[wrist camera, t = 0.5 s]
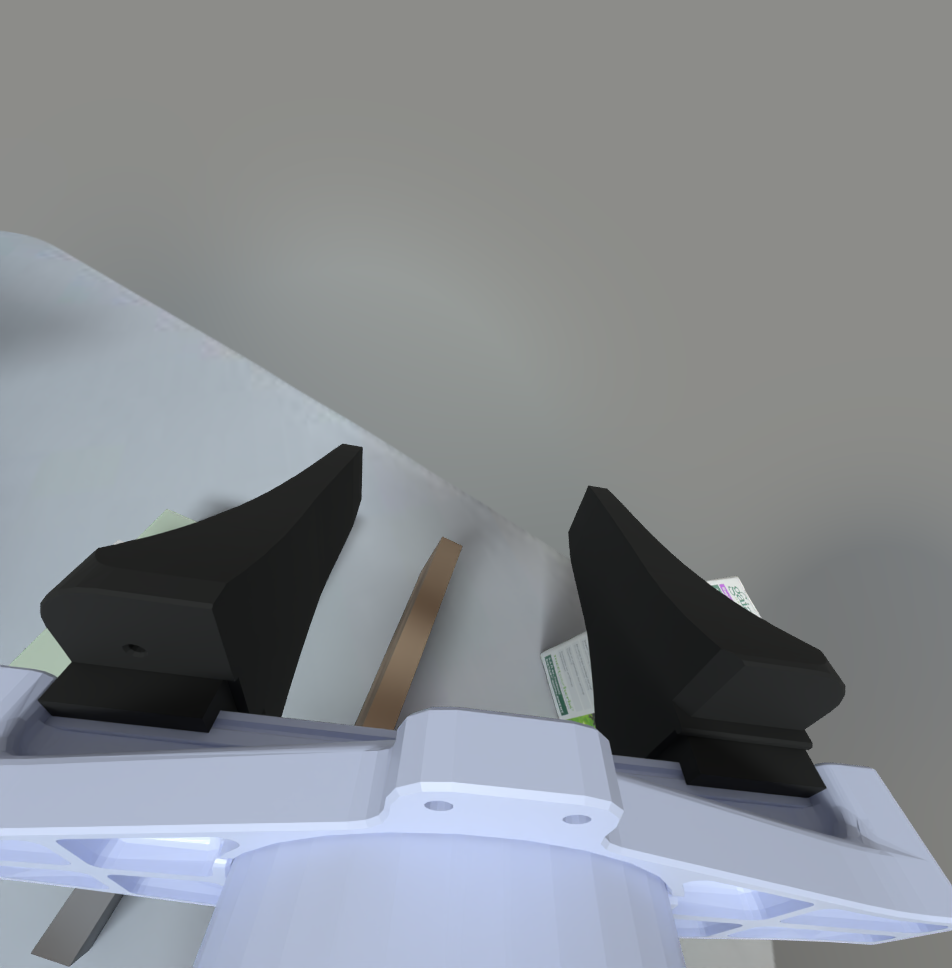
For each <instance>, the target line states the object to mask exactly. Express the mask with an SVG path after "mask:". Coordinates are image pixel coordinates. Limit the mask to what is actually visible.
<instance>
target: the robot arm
mask: <svg viewBox="0 0 952 968" xmlns="http://www.w3.org/2000/svg"><path fill="white" fill-rule="evenodd" d="M362 454H363V447H359V446H353V445H347V444H342V445H340V446H339V447H337V448H336V449H334V450H333V451H331V452H330V453H328V454H327V455H326V456H324V457H323V458H321V459H320V460H318V461H317V462H316V463H314V464H313V465H311V466H310V467H308V468H307V469H305V470H304V471H302V472H301V473H299V474H298V475H296V476H295V477H293V478H291V479H289V480H288V481H286V482H284V483H283V484H281V485H279V486H278V487H276V488H274V489H273V490H271V491H269V492H267V493H265V494H263V495H261V496H259V497H257V498H255V499H253V500H251V501H249V502H246V503H244V504H242V505H240V506H238V507H235V508H233V509H230V510H227V511H225V512H222V513H220V514H217V515H215V516H212V517H209V518H207V519H204V520H201V521H199V522H196V523H192V524H189V525H186V526H183V527H180V528H177V529H173V530H170V531H167V532H163V533H160V534H156V535H152V536H149V537H144V538H140V539H136V540H132V541H127V542H123V543H119V544H115V545H111V546H106V547H101V548H98V549H97V550H96V551H94V552H93V553H92V554H91V555H90V556H89V557H88V558H87V559H85V560H84V561H83V562H82V563H81V564H80V565H79V566H78V567H77V568H76V569H74V570H73V571H72V572H71V573H70V574H69V575H68V576H67V577H66V578H65V579H64V580H62V581H61V582H60V583H59V584H58V585H57V586H56V587H55V588H54V589H53V590H51V591H50V592H49V593H48V594H47V595H46V596H45V598H44V599H43V600H42V602H41V603H40V613H41V618H42V620H43V622H44V623H45V625H46V627H47V629H48V630H49V632H50V633H51V634H52V636H53V637H54V638H55V640H56V641H57V643H58V644H59V645H60V647H61V648H62V649H63V651H64V652H65V653H66V655H67V656H68V658H69V659H70V660H71V663H70V664H69V665H68V666H67V668H66V669H65V670H64V671H63V672H62V673H61V674H60V675H59V677H58V678H57V677H56V676H55V675H53V674H50V673H48V672H46V671H42V670H37V669H30V668H22V667H13V666H5V665H0V879H4V880H14V881H23V882H31V883H39V884H47V885H55V886H64V887H71V888H79V889H87V890H94V891H102V892H109V893H117V894H124V895H132V896H139V897H147V898H154V899H162V900H169V901H177V902H185V903H192V904H200V905H207V906H215V910H214V912H213V915H212V917H211V920H210V923H209V925H208V928H207V931H206V933H205V936H204V938H203V941H202V944H201V946H200V949H199V951H198V954H197V957H196V959H195V962H194V964H193V967H192V968H686V965H685V961H684V957H683V953H682V949H681V945H680V941H679V938H702V939H762V940H799V941H822V942H840V943H855V944H869V945H873V944H879V943H885V942H890V941H896V940H901V939H907V938H912V937H918V936H923V935H929V934H934V933H940V932H945V931H950V930H952V885H951V883H950V882H949V881H948V879H947V877H946V876H945V875H944V873H943V871H942V870H941V868H940V867H939V865H938V864H937V862H936V861H935V859H934V858H933V856H932V855H931V853H930V852H929V850H928V849H927V847H926V846H925V844H924V843H923V842H922V840H921V838H920V837H919V835H918V834H917V832H916V831H915V829H914V828H913V826H912V825H911V823H910V822H909V820H908V819H907V817H906V816H905V814H904V813H903V811H902V810H901V808H900V807H899V805H898V803H897V802H896V800H895V799H894V798H893V796H892V794H891V793H890V791H889V790H888V788H887V787H886V785H885V784H884V782H883V781H882V780H881V778H880V776H879V775H878V773H877V772H876V771H875V769H872V768H870V767H866V766H858V765H849V764H841V763H819V764H815V765H813V763H812V761H811V759H810V758H809V756H808V754H807V752H806V750H809V749H811V748H812V742H811V740H810V738H809V736H808V735H807V733H806V731H805V730H804V729H806V728H807V727H809V726H810V725H812V724H813V723H815V722H816V721H818V720H819V719H820V718H822V717H823V716H825V715H826V714H828V713H829V712H831V711H832V710H833V709H834V708H836V707H837V706H838V705H839V704H840V702H841V701H842V699H843V697H844V695H845V684H844V683H843V682H842V680H841V679H840V677H839V676H838V674H837V673H836V672H835V670H834V669H833V667H832V666H831V664H830V663H829V661H828V660H827V658H826V657H825V656H824V654H823V653H822V652H821V651H820V650H819V649H817V648H815V647H813V646H811V645H809V644H807V643H805V642H803V641H801V640H800V639H798V638H796V637H794V636H792V635H790V634H788V633H786V632H784V631H783V630H781V629H779V628H777V627H775V626H773V625H771V624H770V623H768V622H767V621H765V620H763V619H762V618H760V617H758V616H757V615H755V614H753V613H752V612H750V611H748V610H747V609H745V608H744V607H742V606H741V605H739V604H737V603H736V602H734V601H733V600H731V599H730V598H728V597H727V596H726V595H724V594H723V593H721V592H720V591H718V590H717V589H715V588H714V587H713V586H711V585H710V584H709V583H707V582H706V581H704V580H703V579H702V578H701V577H699V576H698V575H697V574H696V573H694V572H693V571H692V570H691V569H689V568H688V567H687V566H685V565H684V564H683V563H682V562H681V561H680V560H678V559H677V558H676V557H675V556H674V555H673V554H671V553H670V552H669V551H668V550H667V549H666V548H665V547H664V546H663V545H662V544H661V543H660V542H659V541H658V540H657V539H656V538H655V537H653V536H652V535H651V534H650V533H649V531H648V530H647V529H645V527H644V526H643V525H642V524H641V523H640V522H639V521H638V520H637V519H636V518H635V517H634V516H633V515H632V514H631V513H630V512H629V511H628V510H627V508H626V507H624V505H623V504H622V503H621V502H620V501H619V500H618V499H617V498H616V497H615V496H614V495H613V494H612V493H611V492H610V491H609V490H608V489H605V488H600V487H593V486H588V488H587V491H586V493H585V495H584V498H583V500H582V502H581V504H580V507H579V509H578V511H577V513H576V516H575V518H574V521H573V523H572V525H571V528H570V530H569V532H568V533H569V548H570V558H571V564H572V568H573V573H574V577H575V581H576V586H577V590H578V594H579V598H580V603H581V607H582V611H583V615H584V620H585V625H586V630H587V637H588V646H589V654H590V663H591V673H592V684H593V696H594V712H595V727H596V729H595V728H594V727H593V726H590V725H586V724H582V723H579V722H575V721H571V720H562V719H554V718H546V717H537V716H529V715H521V714H512V713H504V712H496V711H487V710H479V709H470V708H462V707H430V708H427V709H424V710H421V711H418V712H415V713H412V714H411V715H409V716H408V717H407V718H406V719H405V720H404V721H403V723H402V724H401V725H400V726H399V727H398V730H388V729H379V728H371V727H362V726H353V725H344V724H335V723H326V722H318V721H309V720H300V719H291V718H282V717H281V716H282V713H283V710H284V706H285V703H286V699H287V696H288V693H289V689H290V686H291V683H292V680H293V676H294V673H295V670H296V667H297V664H298V661H299V657H300V654H301V651H302V648H303V645H304V642H305V639H306V636H307V633H308V630H309V627H310V624H311V621H312V618H313V615H314V613H315V610H316V607H317V604H318V601H319V598H320V596H321V593H322V591H323V588H324V586H325V584H326V582H327V579H328V577H329V575H330V573H331V571H332V569H333V567H334V565H335V563H336V561H337V559H338V556H339V554H340V552H341V550H342V548H343V546H344V544H345V542H346V540H347V537H348V535H349V533H350V531H351V529H352V527H353V524H354V521H355V518H356V515H357V512H358V509H359V505H360V502H361V496H362Z"/></svg>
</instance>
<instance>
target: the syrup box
mask: <svg viewBox="0 0 952 968" xmlns="http://www.w3.org/2000/svg"><path fill="white" fill-rule="evenodd" d="M706 582H707V583H709V584H710V585H711V586H713V587H714V588H715V589H717V590H718V591H720V592H721V593H723V594H724V595H726V596H727V597H728V598H730V599H731V600H733V601H734V602H736V603H737V604H739V605H741V606H742V607H744V608H745V609H747V610H748V611H750V612H752V613H753V614H755V615H757V616H758V617H760V618H761V616H760V615H759V613H758V612H757V610H756V608H755V606H754V605H753V603H752V601H751V600H750V598H749V596H748V595H747V593H746V591H745V589H744V587H743V585H742V583H741V581H740V580H739V578H738V577H737V576H732V577H726V578H721V579H714V580H709V581H706ZM540 657H541V660H542V663H543V665H544V669H545V672H546V675H547V680H548V683H549V687H550V690H551V693H552V697H553V700H554V703H555V707H556V710H557V713H558V717H559V719H562V720H571V721H575V722H579V723H582V724H586V725H590V726H593V727H594V728H595V729H596V727H595V712H594V696H593V684H592V673H591V663H590V654H589V646H588V637H587V631H585V632H583V633H581V634H579V635H577V636H575V637H573V638H572V639H569V640H567V641H565V642H564V643H561V644H559V645H557V646H555V647H552V648H550V649H548V650H546V651H544V652H543V653H542V654H541V655H540Z"/></svg>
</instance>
